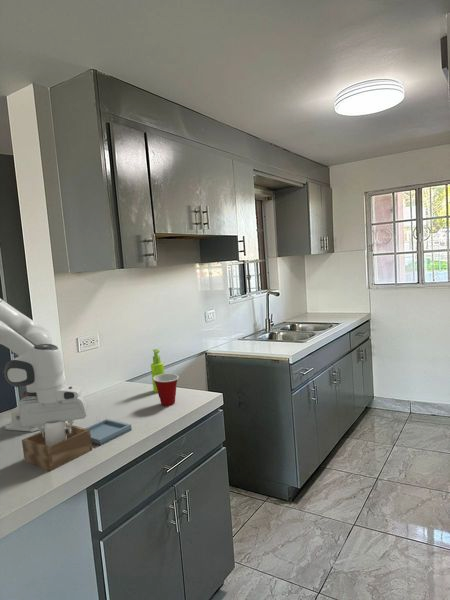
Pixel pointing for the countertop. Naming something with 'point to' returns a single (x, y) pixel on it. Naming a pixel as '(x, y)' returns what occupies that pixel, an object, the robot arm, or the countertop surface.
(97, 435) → the tray
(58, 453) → the walnut sleeve
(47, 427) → the can
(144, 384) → the countertop surface
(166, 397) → the plastic cup
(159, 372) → the soap dispenser
